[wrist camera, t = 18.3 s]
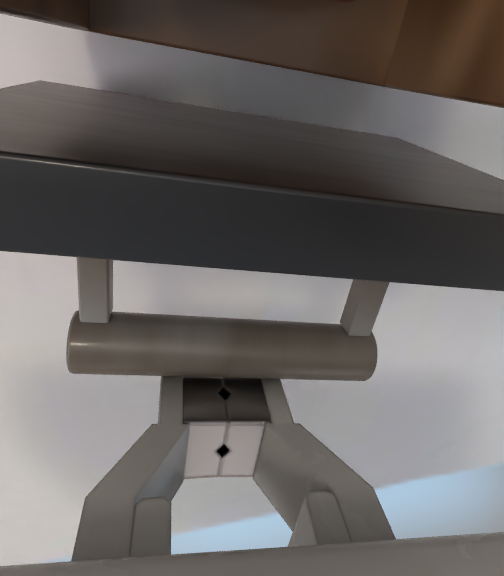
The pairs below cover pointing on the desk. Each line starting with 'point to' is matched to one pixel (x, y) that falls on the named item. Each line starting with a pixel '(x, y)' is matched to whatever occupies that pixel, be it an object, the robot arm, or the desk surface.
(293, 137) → the drawer
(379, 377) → the desk surface
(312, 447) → the robot arm
